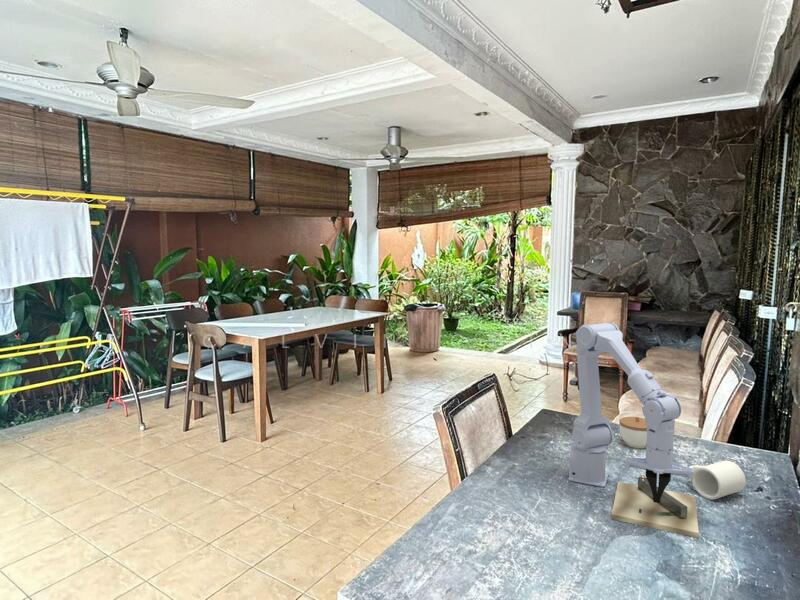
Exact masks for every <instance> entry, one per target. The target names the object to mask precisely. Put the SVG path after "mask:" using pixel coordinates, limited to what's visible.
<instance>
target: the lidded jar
mask: <svg viewBox="0 0 800 600" xmlns="http://www.w3.org/2000/svg"><path fill="white" fill-rule="evenodd" d="M619 432H620V437H621V439H622V440H623V441H624V443H625V444H626V446H629V447H630V448H635V449H646V440H647V426H646V419H645V417H640V416H623V417H621V418H620V419H619Z"/></svg>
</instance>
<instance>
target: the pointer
mask: <svg viewBox="0 0 800 600" xmlns="http://www.w3.org/2000/svg"><path fill="white" fill-rule="evenodd" d="M637 485H638V489H639V490H642V491H644V492H645V493H646V494H648V495H649V496H651V497H652V498H653V494H652V490H651V487H650V485H649V482H648V480H647V478H646V475H640V476H638V477H637ZM657 491H658V486H657ZM665 491H666V490H665ZM665 491H664V492H663V494H662V496H661V499H660V504H662V505H663V506H665V507H666V508H667V509H669V510H670V511H672V512H673V513H674V514H676V515H677V516H679V517H680V518H687V506H685V505H684V504H682V503H681V502H679V501H678V500H676V499H675V498H674V497H672V496H671V495H669V494H668V493H666V492H665Z"/></svg>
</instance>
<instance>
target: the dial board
mask: <svg viewBox="0 0 800 600" xmlns="http://www.w3.org/2000/svg"><path fill="white" fill-rule="evenodd" d="M616 485H617V486H616V490H615V496H614V500H613V505H612V511H611V520H613V521H619V522H624V523H629V524H633V525H637V526H641V527H646V528H651V529H656V530H660V531H665V532H668V533H674V534H679V535H682V536H687V537H692V538H695V539H696V538H697V539H699V538H700V537H699V535H700V534H699V533H700V531H699V523H698V515H697V506H696V500H695V499H696V497H695V495H691V494H686V493H680V492H676V491H670V490H664V491H665V492H666V493H668V494H669V495H671V496H672V497H674V498H675V499H676V500H678V501H679V502H681V503H682V504H684V505H685V506H687V518H680V517H679V516H677V515H676V514H674V513H673V512H672V511H670V510H669V509H667V508H666V507H665V506H663V505H662V504H660V503H656V502H653V498H652V497H651V496H649V495H648V494H646V493H645V492H644V491H642V490H639V489H638V484H631V483H627V482H622V481H617V484H616Z"/></svg>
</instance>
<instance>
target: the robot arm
mask: <svg viewBox="0 0 800 600" xmlns="http://www.w3.org/2000/svg"><path fill="white" fill-rule="evenodd" d="M623 336H624V335H623V332H622V331H621V330H620V329H619V326H618V325H617V324H616V323H614V322H610V321H609V322H607V323H604V322H603V323H594V324H587V323H586V324H581V326H580V327H579V328H577V330H576V331H575V338H576V339H575V340H576V361H577V374H578V388H579V389H578V390H579V400H580V401H579V402H580V414H579V415H578V416H577V417H576V419H574V420H573V430H572V433H571V434H572V435H571V436H572V441H573V444H572V445H570V451H569V467H568V481H570V482H575V483H580V484H586V485H591V486H596V487H600V488H601V487H602V488H605V487H606V485H607V480H608V476H609V475H608V474H607V473H606V460H607V450H609V446H610V445H611V444H612V443H613V440H614V432H613V430H612V427H611V425H610V419H609V418H608V417H607V416H605V415H604V414H603V409H602V406H603V405H602V398H601V395H602V394H601V383H600V382H601V381H600V371H599V370H600V369H599V359H598V358H599V357H600V355H601V354H603V353H608V354H609V355H610V356H611V357H612V358H613V360H614V361H615V362H616V363H617V364H618V366H619V367H620V368H621V370H622V371H623V372H625V374H626V375H627V385H628V386H629V388H630V389H631V390H632V391H633V393H634V394H635V396H636V397H637V398H638V400H639V401H640V403H641V404H642V405H643V406H641V411H642V415H643V416H644V417H643V418H645V419H646V426H647V440H646V448H645V458H644V457H643V458H640V457H628V456H625V459H624V468H627V469H630V468H631V469H632V468H633V469H637V470H643V471H645V478H647V480H648V482H649V485H650V487H651V490H652V494H653V502H656V503H660V499H661V496H662V494H663V492H664V490H665V489H666V488H667V486H668V485H669V484H670V482H671V480H672V475H673V476H677V477H682V478H683V477H684V478H687V479H689V480H691V481H692V480H693V477H694V469H693V468H689V466H688V467H687V466H683V465H680V464H676V463H673V459H674V457H673V456H674V440H675V439H674V438H675V424H676V421H675V420H676V419H678V418H680V416H681V414H682V405H681V404H680V401H679V400H678V398H677V397H676V396H674V395H672V394H670V393H668V392H667V391H664V389H663V388H662V387H661V385H660V384H659V383H658V381H657V380H656V379H655V377H654V374H653V373H652V372H650V371H649V370H647V369H643V368H641V367H640V365H639V364H638V362H637V361H636V359H635V357H634V356H633V354H632V353H631V351H630V349H629V348H628V347H627V345H626V344H625V342H624V341H623V338H624V337H623ZM657 484H658V485H657ZM657 487H658V491H657ZM665 491H666V490H665Z"/></svg>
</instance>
